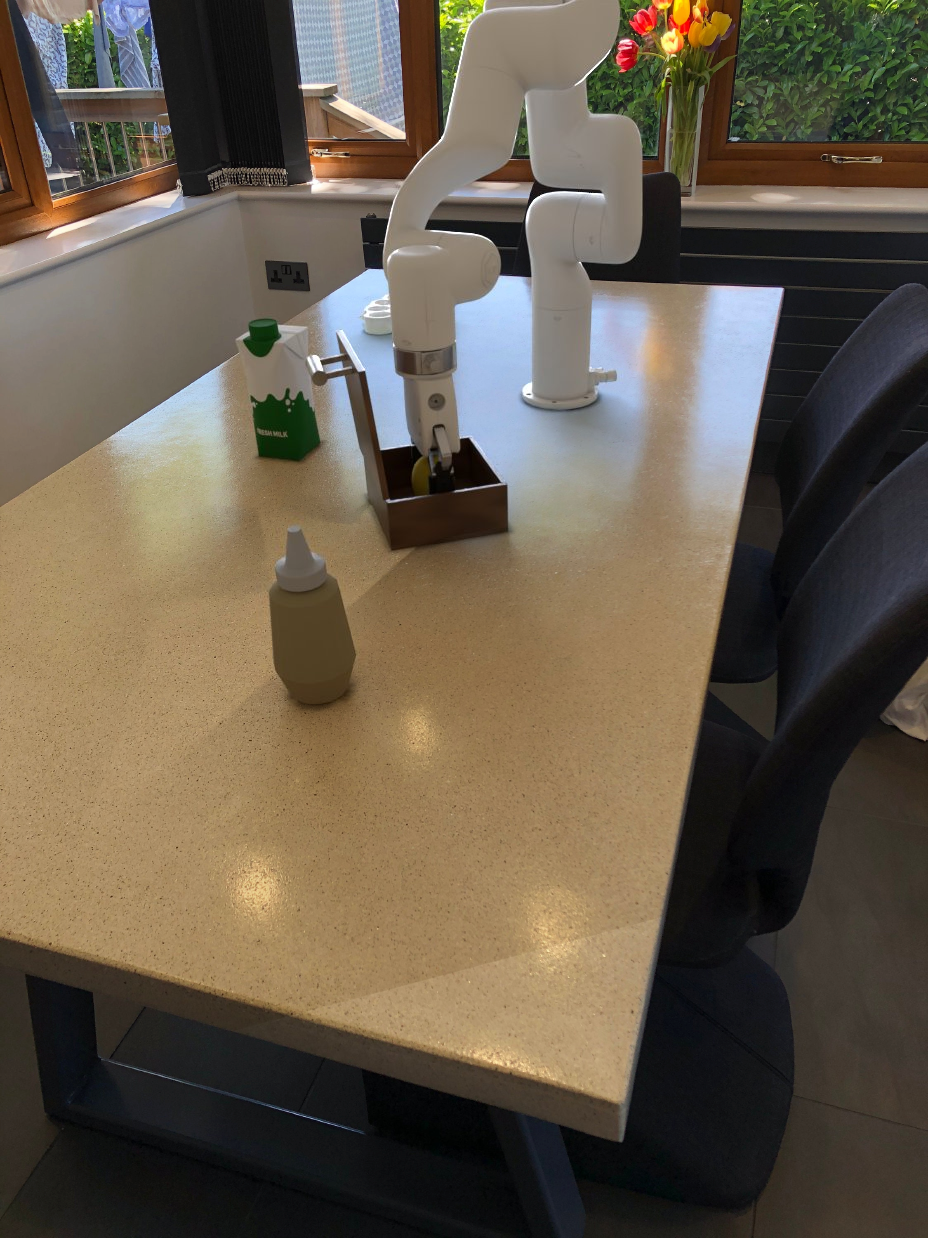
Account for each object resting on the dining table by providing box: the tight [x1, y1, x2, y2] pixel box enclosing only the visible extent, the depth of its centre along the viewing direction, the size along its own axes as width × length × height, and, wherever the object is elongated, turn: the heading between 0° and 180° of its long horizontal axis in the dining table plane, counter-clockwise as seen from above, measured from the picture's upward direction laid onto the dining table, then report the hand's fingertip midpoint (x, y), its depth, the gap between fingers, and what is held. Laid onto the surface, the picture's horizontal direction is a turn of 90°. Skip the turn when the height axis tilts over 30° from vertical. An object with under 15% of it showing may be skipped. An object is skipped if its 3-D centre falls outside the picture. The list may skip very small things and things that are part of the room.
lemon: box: [412, 456, 439, 497], centre depth 120 cm, size 6×6×8 cm
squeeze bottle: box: [268, 525, 357, 705], centre depth 87 cm, size 8×8×18 cm
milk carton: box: [234, 317, 322, 462], centre depth 136 cm, size 9×9×20 cm
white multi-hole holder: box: [357, 294, 392, 336], centre depth 193 cm, size 3×18×15 cm
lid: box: [305, 329, 390, 500], centre depth 112 cm, size 16×16×6 cm
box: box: [363, 435, 509, 552], centre depth 120 cm, size 15×16×7 cm
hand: (433, 487), depth 120 cm, fingers open, 9 cm apart
